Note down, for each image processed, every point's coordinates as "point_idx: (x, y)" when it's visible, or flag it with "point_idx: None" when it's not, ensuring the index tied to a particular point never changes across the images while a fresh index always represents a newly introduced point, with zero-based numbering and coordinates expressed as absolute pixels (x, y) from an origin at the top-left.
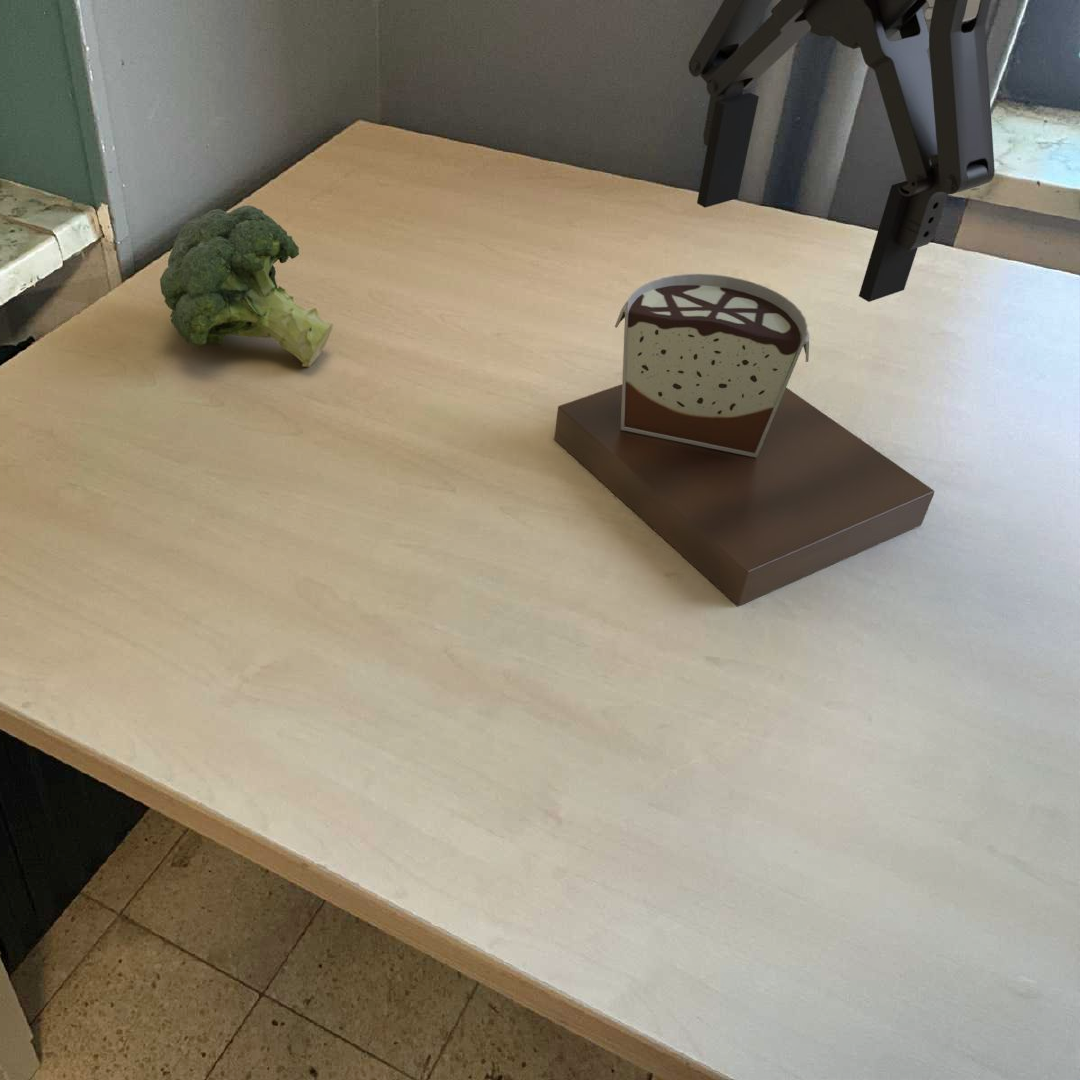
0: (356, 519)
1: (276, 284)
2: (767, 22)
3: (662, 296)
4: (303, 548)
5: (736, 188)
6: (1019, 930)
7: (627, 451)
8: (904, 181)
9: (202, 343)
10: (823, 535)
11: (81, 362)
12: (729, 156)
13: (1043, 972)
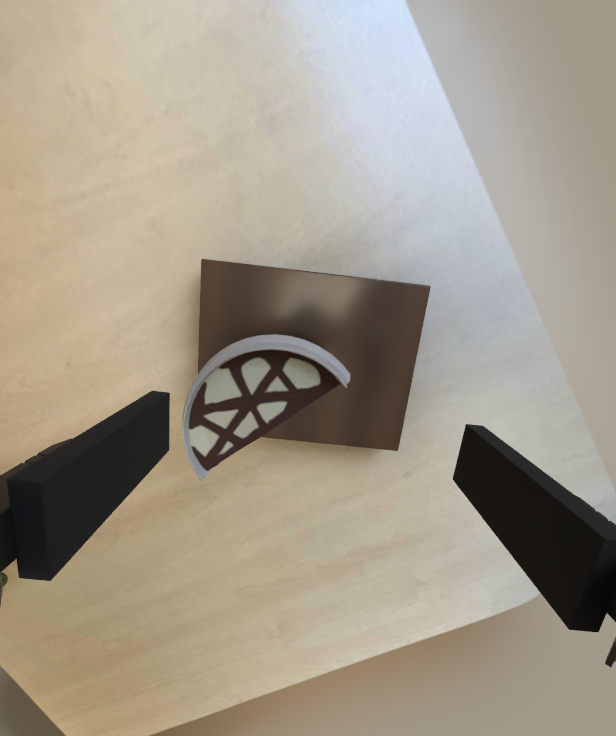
0: (208, 550)
1: None
2: None
3: (201, 427)
4: (214, 581)
5: (161, 405)
6: (589, 483)
7: None
8: (580, 599)
9: (7, 579)
10: (407, 389)
11: None
12: (128, 459)
13: (603, 491)
